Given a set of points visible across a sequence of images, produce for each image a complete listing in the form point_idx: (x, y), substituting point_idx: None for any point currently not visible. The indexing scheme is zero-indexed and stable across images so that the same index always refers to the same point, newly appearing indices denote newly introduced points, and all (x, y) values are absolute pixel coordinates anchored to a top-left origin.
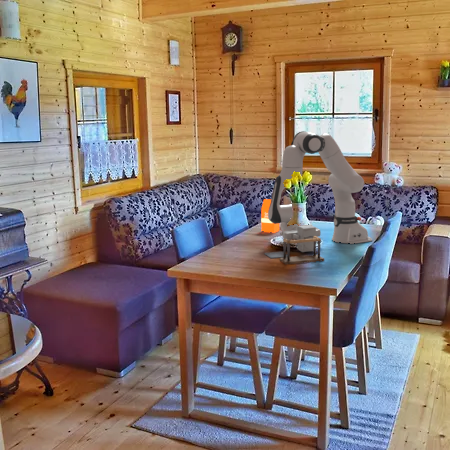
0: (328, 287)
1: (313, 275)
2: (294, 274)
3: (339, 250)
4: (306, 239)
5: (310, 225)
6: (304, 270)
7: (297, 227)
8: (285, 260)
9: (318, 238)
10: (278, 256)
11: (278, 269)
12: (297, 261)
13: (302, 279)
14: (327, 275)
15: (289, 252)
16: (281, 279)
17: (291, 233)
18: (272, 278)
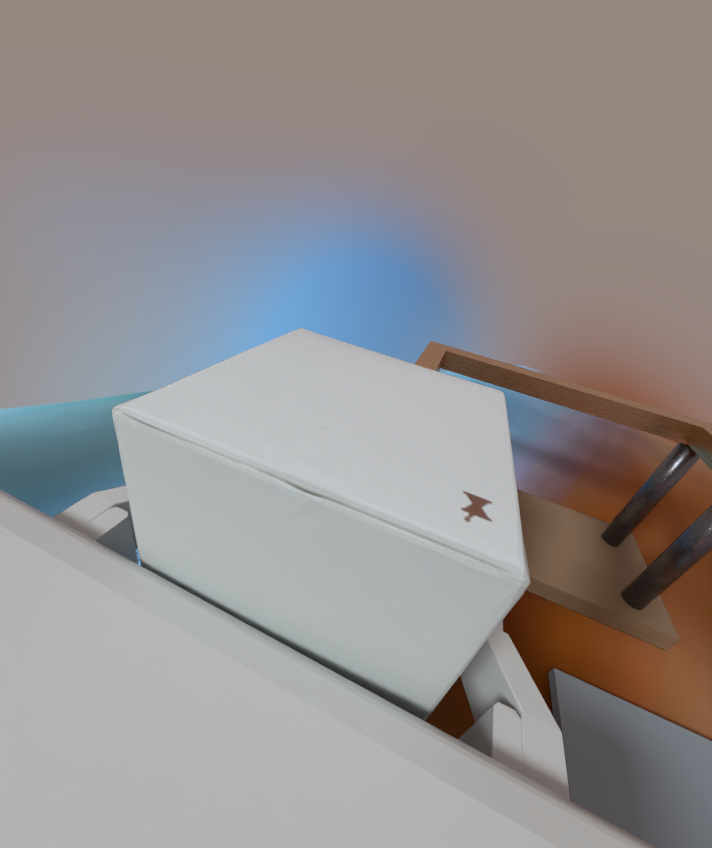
0: (535, 370)
1: (535, 410)
2: (603, 445)
3: (31, 499)
4: (542, 375)
5: (221, 377)
6: (547, 444)
7: (509, 601)
8: (632, 557)
9: (444, 347)
10: (690, 745)
11: (677, 516)
12: (550, 503)
13: (586, 414)
14: None
15: (639, 491)
16: (664, 447)
17: (618, 828)
18: (703, 469)
